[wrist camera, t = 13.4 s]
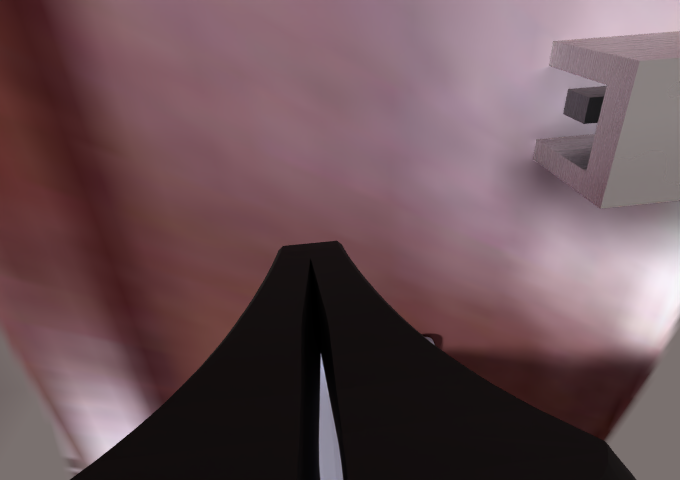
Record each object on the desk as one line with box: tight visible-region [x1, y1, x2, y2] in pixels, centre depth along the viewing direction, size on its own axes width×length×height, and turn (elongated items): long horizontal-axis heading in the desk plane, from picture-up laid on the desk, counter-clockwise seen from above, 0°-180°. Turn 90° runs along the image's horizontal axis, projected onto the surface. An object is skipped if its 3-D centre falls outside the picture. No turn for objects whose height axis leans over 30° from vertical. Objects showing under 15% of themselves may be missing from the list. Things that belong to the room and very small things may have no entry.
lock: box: [533, 31, 680, 209], centre depth 16 cm, size 8×5×5 cm, turn 93°
